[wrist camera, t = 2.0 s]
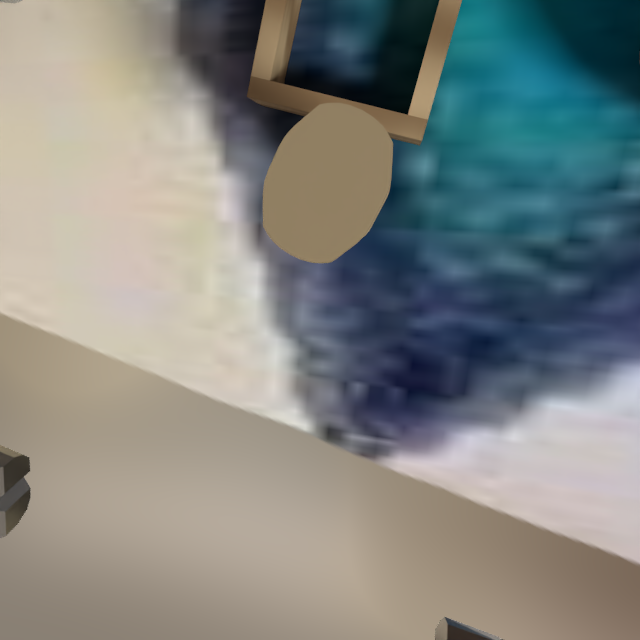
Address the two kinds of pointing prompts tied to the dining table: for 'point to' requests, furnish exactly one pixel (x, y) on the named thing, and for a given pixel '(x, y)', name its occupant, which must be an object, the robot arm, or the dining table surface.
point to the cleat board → (277, 95)
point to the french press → (10, 1)
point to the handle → (327, 182)
